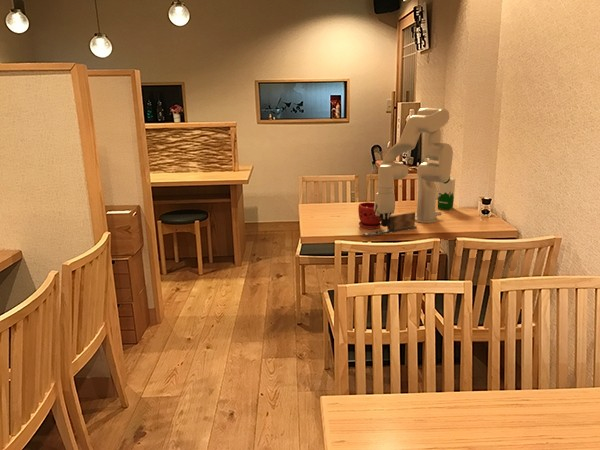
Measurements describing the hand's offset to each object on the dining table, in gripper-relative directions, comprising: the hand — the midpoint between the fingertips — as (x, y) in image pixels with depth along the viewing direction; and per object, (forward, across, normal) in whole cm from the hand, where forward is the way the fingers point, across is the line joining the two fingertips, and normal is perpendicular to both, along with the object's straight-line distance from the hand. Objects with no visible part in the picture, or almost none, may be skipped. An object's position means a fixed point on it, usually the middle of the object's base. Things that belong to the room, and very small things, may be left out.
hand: (384, 226), depth 249 cm
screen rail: (+4, -4, 0) cm, 5 cm away
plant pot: (+4, 0, -12) cm, 13 cm away
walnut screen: (+2, -11, 0) cm, 11 cm away
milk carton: (+4, -62, -23) cm, 66 cm away
